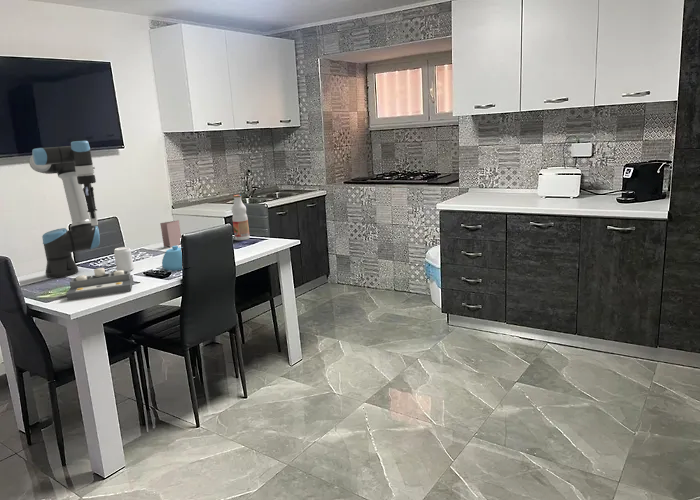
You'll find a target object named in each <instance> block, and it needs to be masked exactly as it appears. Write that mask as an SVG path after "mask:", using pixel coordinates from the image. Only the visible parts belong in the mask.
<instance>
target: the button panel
mask: <svg viewBox="0 0 700 500" xmlns="http://www.w3.org/2000/svg"><path fill="white" fill-rule="evenodd" d="M105 274H106V275H104V276H100V277H95V274H94V275H86V276H87V280H80V281H76V277H73V278H71V280H70V281H69V285H70V287H69V289H68V291H67V292H66V293H65V294H66V300H67V301H74V300H81V299H87V298H94V297H100V296H101V297H102V296H108V295H114V294H121V293H128V292H132V288H133V283H134V277H133V274H131V271H130V270H129V271H124V274H122V275H115V276H114V272H108V273H105Z"/></svg>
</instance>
